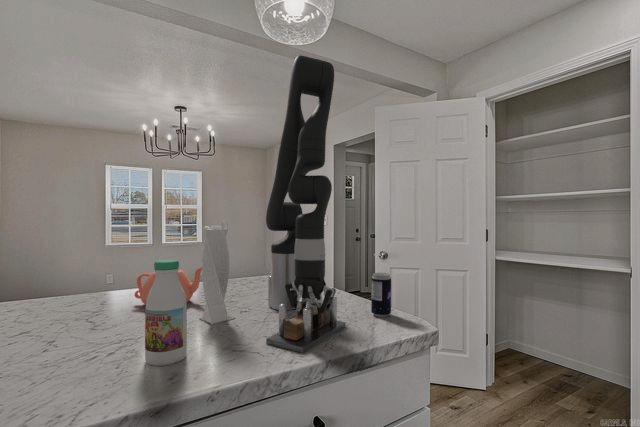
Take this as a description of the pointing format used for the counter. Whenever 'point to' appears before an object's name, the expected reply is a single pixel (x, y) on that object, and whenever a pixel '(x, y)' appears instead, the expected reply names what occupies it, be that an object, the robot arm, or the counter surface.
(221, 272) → the skyscraper
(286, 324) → the brown wooden bar
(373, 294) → the beverage can
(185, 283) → the teapot
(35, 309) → the counter surface
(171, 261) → the milk bottle
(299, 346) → the peg rack
